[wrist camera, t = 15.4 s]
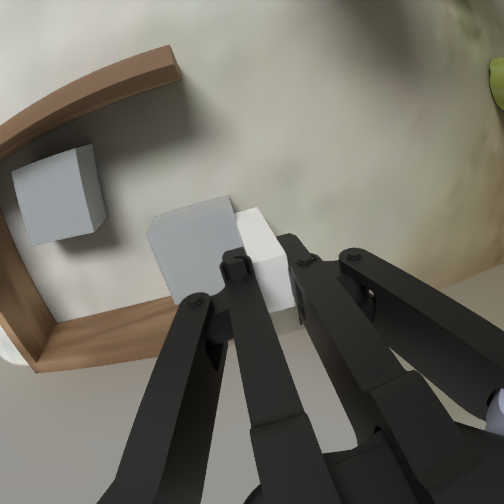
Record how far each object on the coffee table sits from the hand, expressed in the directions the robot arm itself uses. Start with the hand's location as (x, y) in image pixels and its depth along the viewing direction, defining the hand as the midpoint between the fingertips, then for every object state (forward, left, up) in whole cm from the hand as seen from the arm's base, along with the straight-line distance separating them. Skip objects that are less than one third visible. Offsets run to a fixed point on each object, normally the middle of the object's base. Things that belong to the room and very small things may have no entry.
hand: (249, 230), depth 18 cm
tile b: (0, -3, -2) cm, 4 cm away
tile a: (-6, -11, -2) cm, 13 cm away
